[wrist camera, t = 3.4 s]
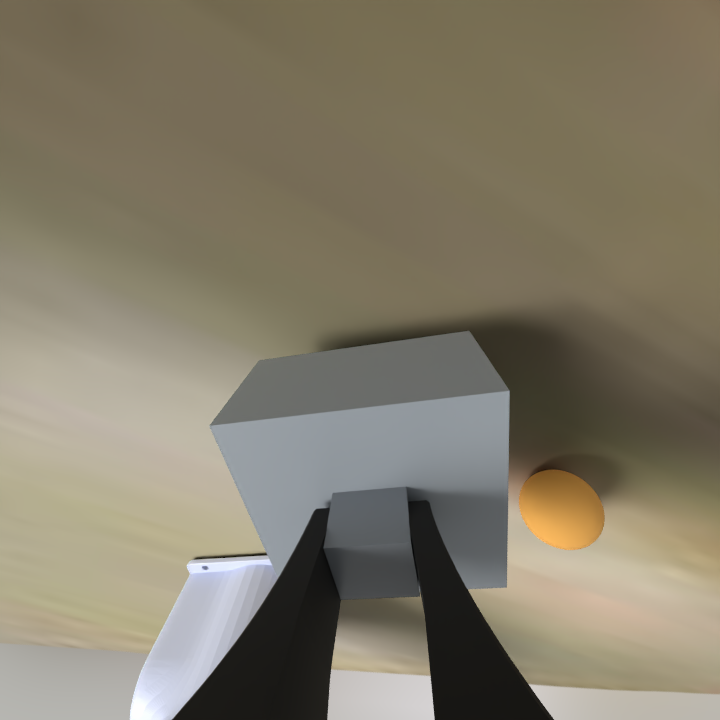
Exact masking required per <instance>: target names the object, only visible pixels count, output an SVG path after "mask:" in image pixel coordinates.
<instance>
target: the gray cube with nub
mask: <svg viewBox="0 0 720 720" xmlns="http://www.w3.org/2000/svg"><path fill="white" fill-rule="evenodd" d="M509 398H510V391H509V389H508V388H507V386H506V385H505V383H504V382H503V380H502V379H501V377H500V376H499V374H498V373H497V371H496V370H495V368H494V367H493V365H492V364H491V362H490V361H489V359H488V358H487V356H486V355H485V353H484V352H483V350H482V349H481V347H480V346H479V344H478V343H477V341H476V340H475V338H474V337H473V336H472V334H471V333H470V331H464V332H457V333H450V334H443V335H436V336H429V337H422V338H414V339H407V340H400V341H393V342H386V343H379V344H372V345H365V346H358V347H351V348H344V349H337V350H330V351H322V352H315V353H308V354H301V355H294V356H287V357H280V358H273V359H266V360H259V361H258V363H257V364H256V365H255V367H254V368H253V369H252V370H251V372H250V373H249V374H248V376H247V377H246V378H245V380H244V381H243V382H242V384H241V385H240V386H239V388H238V389H237V390H236V392H235V393H234V394H233V395H232V397H231V398H230V399H229V401H228V402H227V403H226V405H225V406H224V407H223V409H222V410H221V411H220V413H219V414H218V415H217V416H216V418H215V419H214V420H213V422H212V423H211V424H210V429H211V431H212V433H213V435H214V437H215V440H216V442H217V444H218V446H219V448H220V451H221V453H222V455H223V457H224V460H225V462H226V464H227V466H228V468H229V471H230V473H231V475H232V477H233V480H234V482H235V484H236V486H237V488H238V491H239V493H240V495H241V497H242V500H243V502H244V504H245V506H246V508H247V511H248V513H249V515H250V517H251V520H252V522H253V524H254V526H255V528H256V531H257V533H258V535H259V537H260V540H261V542H262V544H263V546H264V548H265V551H266V553H267V555H268V557H269V560H270V562H271V564H272V566H273V568H274V571H275V573H276V575H277V577H279V576H280V574H281V572H282V571H283V569H284V567H285V565H286V563H287V562H288V560H289V558H290V556H291V555H292V553H293V551H294V549H295V547H296V545H297V544H298V542H299V540H300V538H301V536H302V534H303V532H304V530H305V528H306V526H307V524H308V522H309V520H310V518H311V516H312V514H313V512H314V510H315V509H320V508H330V511H329V517H328V523H327V531H326V535H325V541H324V547H323V549H324V552H325V554H326V557H327V560H328V563H329V566H330V569H331V572H332V575H333V578H334V581H335V584H336V587H337V590H338V593H339V596H340V599H341V600H348V599H372V598H395V597H418V596H420V586H419V581H418V574H417V568H416V562H415V556H414V550H413V544H412V538H411V532H410V526H409V512H408V501H421V500H427V501H428V502H430V506H431V510H432V513H433V517H434V520H435V522H436V525H437V528H438V530H439V533H440V535H441V537H442V540H443V542H444V544H445V546H446V549H447V551H448V553H449V555H450V557H451V559H452V561H453V563H454V565H455V567H456V569H457V571H458V573H459V575H460V577H461V579H462V580H463V582H464V584H465V586H466V588H467V589H483V588H505V587H507V535H508V467H509Z"/></svg>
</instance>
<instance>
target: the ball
mask: <svg viewBox="0 0 720 720" xmlns="http://www.w3.org/2000/svg"><path fill="white" fill-rule="evenodd" d="M519 507H520V512H521V515H522V518H523V520H524V521H525V523H526V525H527V526H528V528H529V529H530V530H531V531H532V533H533V534H534V535H535V536H537V537H538V538H539V539H540V540H542V541H543V542H545V543H547V544H549V545H551V546H553V547H556V548H560V549H565V550H576V549H581V548H584V547H587V546H589V545H590V544H592V543H593V542H594V541H596V539H597V538H598V537H599V535H600V534H601V532H602V529H603V526H604V519H605V518H604V510H603V506H602V503H601V501H600V499H599V497H598V496H597V494H596V492H595V491H594V490H593V489H592V488H591V486H590V485H588V484H587V483H586V482H585V481H584V480H582V479H581V478H579V477H578V476H576V475H574V474H571V473H569V472H565V471H561V470H545V471H541V472H538V473H536V474H534V475H532V476H531V477H530V478H529V479H528V480H527V481H526V482H525V483H524V485H523V487H522V489H521V491H520V496H519Z"/></svg>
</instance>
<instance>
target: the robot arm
mask: <svg viewBox="0 0 720 720" xmlns="http://www.w3.org/2000/svg"><path fill="white" fill-rule="evenodd" d="M329 511H330V508H320V509H315V510H314V512H313V514H312V516H311V518H310V520H309V522H308V524H307V526H306V528H305V530H304V532H303V534H302V536H301V538H300V540H299V542H298V544H297V545H296V547H295V549H294V551H293V553H292V555H291V556H290V558H289V560H288V562H287V563H286V565H285V567H284V569H283V571H282V572H281V574H280V576H279V577H277V575H276V573H275V571H274V568H273V566H272V564H271V562H270V560H269V557H268V555H265V556H248V557H231V558H214V559H197V560H191V561H189V563H188V565H187V569H188V570H189V572H190V576H189V578H188V580H187V581H186V583H185V585H184V587H183V589H182V591H181V593H180V595H179V597H178V599H177V601H176V603H175V605H174V607H173V609H172V611H171V613H170V615H169V617H168V619H167V621H166V622H165V624H164V626H163V628H162V630H161V632H160V634H159V636H158V638H157V640H156V642H155V644H154V646H153V648H152V650H151V652H150V654H149V656H148V658H147V660H146V662H145V664H144V666H143V668H142V671H141V674H140V676H139V679H138V682H137V685H136V688H135V692H134V696H133V701H132V705H131V712H130V720H327V713H328V699H329V684H330V674H331V665H332V657H333V650H334V643H335V636H336V629H337V622H338V615H339V609H340V601H341V599H340V596H339V593H338V590H337V587H336V584H335V581H334V578H333V575H332V572H331V569H330V566H329V563H328V560H327V557H326V554H325V552H324V549H323V547H324V541H325V535H326V531H327V523H328V517H329ZM408 512H409V526H410V532H411V538H412V544H413V550H414V556H415V562H416V568H417V574H418V581H419V586H420V591H421V597H422V602H423V608H424V613H425V621H426V631H427V641H428V652H429V662H430V673H431V684H432V693H433V705H434V716H435V720H554V719H553V718H552V717H551V715H550V714H549V712H548V711H547V710H546V708H545V707H544V706H543V704H542V703H541V702H540V700H539V699H538V698H537V696H536V695H535V693H534V692H533V690H532V689H531V687H530V686H529V685H528V683H527V682H526V680H525V679H524V677H523V676H522V675H521V673H520V672H519V670H518V669H517V668H516V666H515V665H514V663H513V662H512V660H511V659H510V657H509V656H508V654H507V653H506V651H505V650H504V648H503V647H502V645H501V644H500V642H499V641H498V639H497V638H496V636H495V635H494V633H493V631H492V630H491V628H490V627H489V625H488V623H487V622H486V620H485V619H484V617H483V615H482V614H481V612H480V610H479V609H478V607H477V605H476V604H475V602H474V600H473V598H472V597H471V595H470V593H469V591H468V589H467V588H466V586H465V584H464V582H463V580H462V579H461V577H460V575H459V573H458V571H457V569H456V567H455V565H454V563H453V561H452V559H451V557H450V555H449V553H448V551H447V549H446V546H445V544H444V542H443V540H442V537H441V535H440V533H439V530H438V528H437V525H436V522H435V520H434V517H433V513H432V510H431V506H430V502H428V501H427V500H421V501H408Z"/></svg>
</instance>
